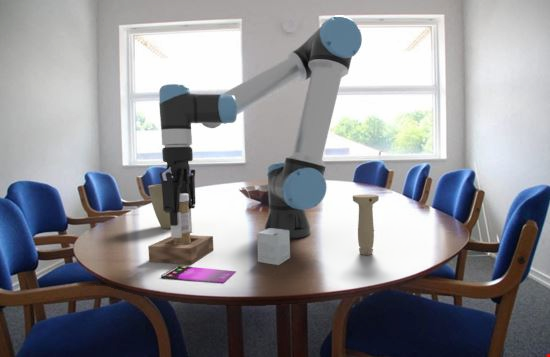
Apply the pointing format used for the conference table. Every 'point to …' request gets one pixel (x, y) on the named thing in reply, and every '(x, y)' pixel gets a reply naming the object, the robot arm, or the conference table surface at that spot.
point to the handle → (365, 222)
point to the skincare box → (273, 246)
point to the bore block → (181, 250)
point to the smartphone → (198, 274)
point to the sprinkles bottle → (184, 220)
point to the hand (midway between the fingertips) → (182, 234)
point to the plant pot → (159, 205)
